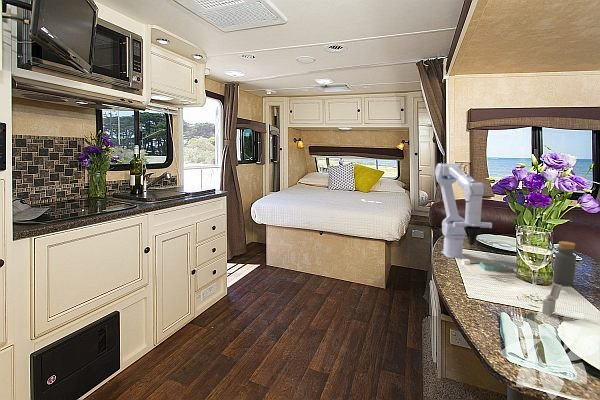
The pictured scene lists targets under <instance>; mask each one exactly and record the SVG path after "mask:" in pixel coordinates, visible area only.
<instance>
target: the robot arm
mask: <svg viewBox="0 0 600 400" xmlns="http://www.w3.org/2000/svg"><path fill="white" fill-rule="evenodd" d="M461 169H462V167H461V165H460V164H459V163H440V162H439V163H437V164H436V166H435V170H434V174H435V177H436V182H437V183H438V184H439V187H440V190H441V196H442V201H443V205H444V210H445V215H446V217H445V218H444V219H443V220H442V221H441V232H442V235H443V236H444V237H443V238H444V239H443V247H442V248H443V249H442V250H441V251H440V252H441V253H442V254H443V255H444V256H445V257H447V258H458V259H459V258H462V259H467V257H466V256H465V255H463V250H464V239H465V238H466V237H467V241H468V242H467V243H468V244H469V246H474V245H475V243H476V239H477V238H478V236H479V235H480V233H481V232H482V228H484V229H485V228H489V229H492V228H493V222H485V221H481V218H482V206H483V197H484V196H485V195H486V193H487V187H486V185H485V183H484V182H478V181H476V180H475V179H474V178H473V177H472V175H470V173H464V171H462V170H461ZM454 183H457V185H458V186H460V188H462V190H463V194H464V201H465V214H464V217H463V216H461V215H459V211H458V207H457V202H456V197H455V193H454V190H453V184H454Z"/></svg>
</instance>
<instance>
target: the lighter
mask: <svg viewBox="0 0 600 400" xmlns="http://www.w3.org/2000/svg"><path fill="white" fill-rule="evenodd" d="M561 289H562V285H558V284H556V283H552V286H551V289H550V292H549V294H548V295H546V298H544V299H543V300H542V310H541V314H542V313H543V314H546V315H550V314H552V313H553V312H555V311H556V301H557V300H558V299H559V296H560V292H561ZM555 313H556V312H555ZM543 314H542V315H543ZM553 314H554V313H553ZM553 314H552V315H553ZM546 315H545V316H546ZM550 316H551V315H550Z"/></svg>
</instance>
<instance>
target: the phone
mask: <svg viewBox="0 0 600 400" xmlns="http://www.w3.org/2000/svg"><path fill="white" fill-rule="evenodd" d="M495 262H496V261H488V262H487V261H486V262H485V261H480V262H479V263H480V265H479V266H480V267H481V268H482V269H483V270H487V271H497V268H506V266H505V265H503V264H502V263H495Z"/></svg>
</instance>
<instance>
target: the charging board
mask: <svg viewBox="0 0 600 400" xmlns="http://www.w3.org/2000/svg"><path fill="white" fill-rule="evenodd" d="M494 262H495V263H502V264H503V265H505V266H506V268H497V271H487V270H483V269H482V268H481V267H480V266H479V265H480V262H476V261H475V262H473V261H472V262H471V260H470V259H468V258H462V259H461V262H459V263H460V264H461V265H462V267H465V268H466V269H467V270H468V271H469V272H470V273H471V274H472V275H491V276H492V275H493V276H496V275H497V276H518V275H517V274H516V273H514V268H512V267H511V266H510V265H507V263H505V262H504V261H494Z"/></svg>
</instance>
